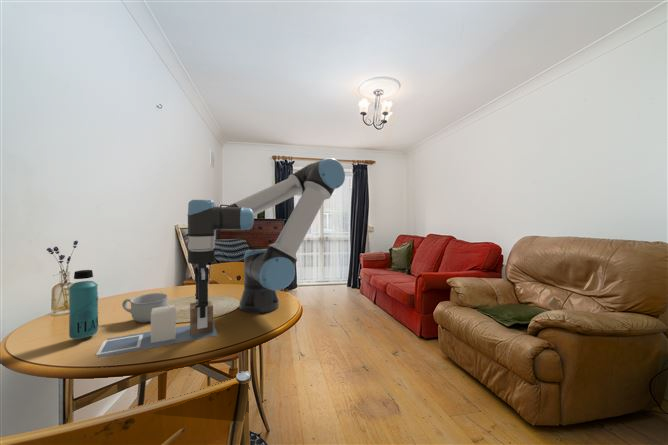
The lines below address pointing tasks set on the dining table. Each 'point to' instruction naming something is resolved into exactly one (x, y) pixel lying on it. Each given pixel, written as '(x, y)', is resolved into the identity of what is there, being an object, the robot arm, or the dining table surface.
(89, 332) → the beverage bottle
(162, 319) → the cream block
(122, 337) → the plan sheet
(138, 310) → the teacup
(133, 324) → the dining table surface
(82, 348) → the dining table surface
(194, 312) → the walnut block
